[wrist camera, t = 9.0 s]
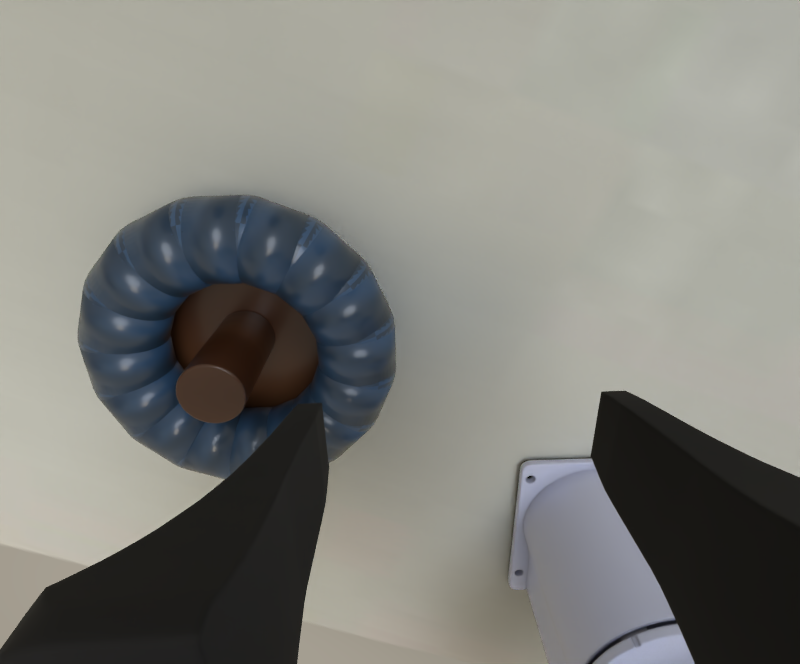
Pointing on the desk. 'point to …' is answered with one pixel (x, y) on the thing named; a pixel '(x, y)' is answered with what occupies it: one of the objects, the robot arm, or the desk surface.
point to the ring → (232, 264)
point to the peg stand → (240, 351)
